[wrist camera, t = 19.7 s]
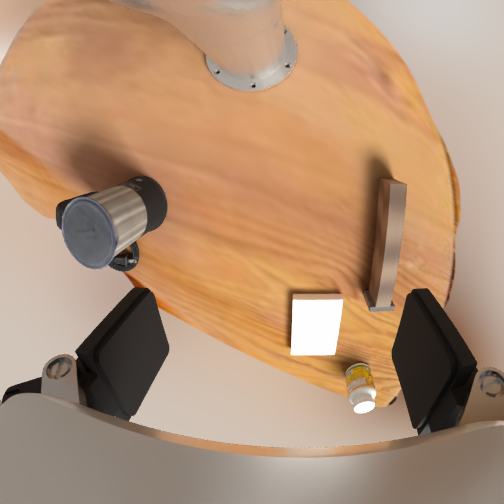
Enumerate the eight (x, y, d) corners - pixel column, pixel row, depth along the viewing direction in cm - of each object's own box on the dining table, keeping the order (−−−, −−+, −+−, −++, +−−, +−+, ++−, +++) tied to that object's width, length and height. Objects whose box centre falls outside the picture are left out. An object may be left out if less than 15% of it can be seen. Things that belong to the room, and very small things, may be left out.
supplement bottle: (342, 366, 48) (347, 404, 40) (368, 358, 47) (377, 395, 38) (347, 381, 50) (352, 417, 41) (371, 374, 49) (379, 410, 40)
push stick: (373, 177, 35) (384, 183, 30) (398, 179, 34) (412, 184, 29) (363, 294, 42) (369, 311, 37) (385, 293, 41) (393, 310, 37)
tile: (292, 299, 42) (290, 355, 46) (343, 299, 41) (334, 354, 45) (292, 292, 44) (291, 347, 48) (341, 292, 43) (333, 346, 47)
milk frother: (164, 172, 39) (105, 191, 25) (180, 267, 45) (138, 318, 31) (96, 184, 41) (34, 207, 27) (114, 266, 47) (66, 308, 33)
